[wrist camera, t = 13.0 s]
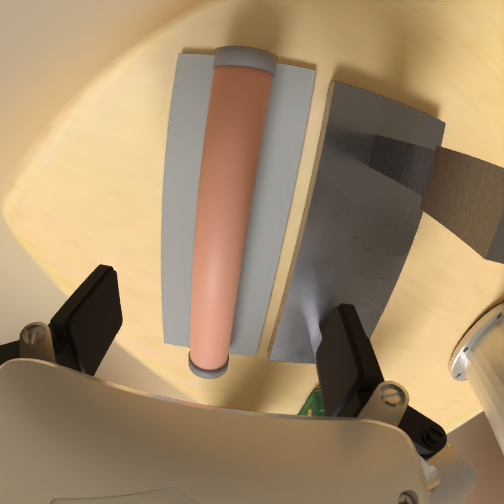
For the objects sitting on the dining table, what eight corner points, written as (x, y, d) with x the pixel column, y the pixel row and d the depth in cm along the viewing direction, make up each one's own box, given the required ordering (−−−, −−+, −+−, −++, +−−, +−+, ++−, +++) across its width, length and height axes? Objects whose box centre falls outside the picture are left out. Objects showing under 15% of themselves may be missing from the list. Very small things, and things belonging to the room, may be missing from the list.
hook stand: (435, 121, 15) (600, 171, 3) (351, 355, 24) (387, 483, 12) (329, 83, 14) (492, 37, 2) (268, 350, 24) (273, 497, 12)
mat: (314, 71, 14) (316, 70, 14) (255, 353, 24) (255, 356, 23) (180, 54, 13) (178, 53, 13) (165, 339, 23) (164, 342, 23)
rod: (218, 56, 13) (212, 43, 10) (274, 63, 13) (280, 52, 11) (191, 347, 23) (185, 375, 20) (228, 352, 23) (226, 381, 20)
